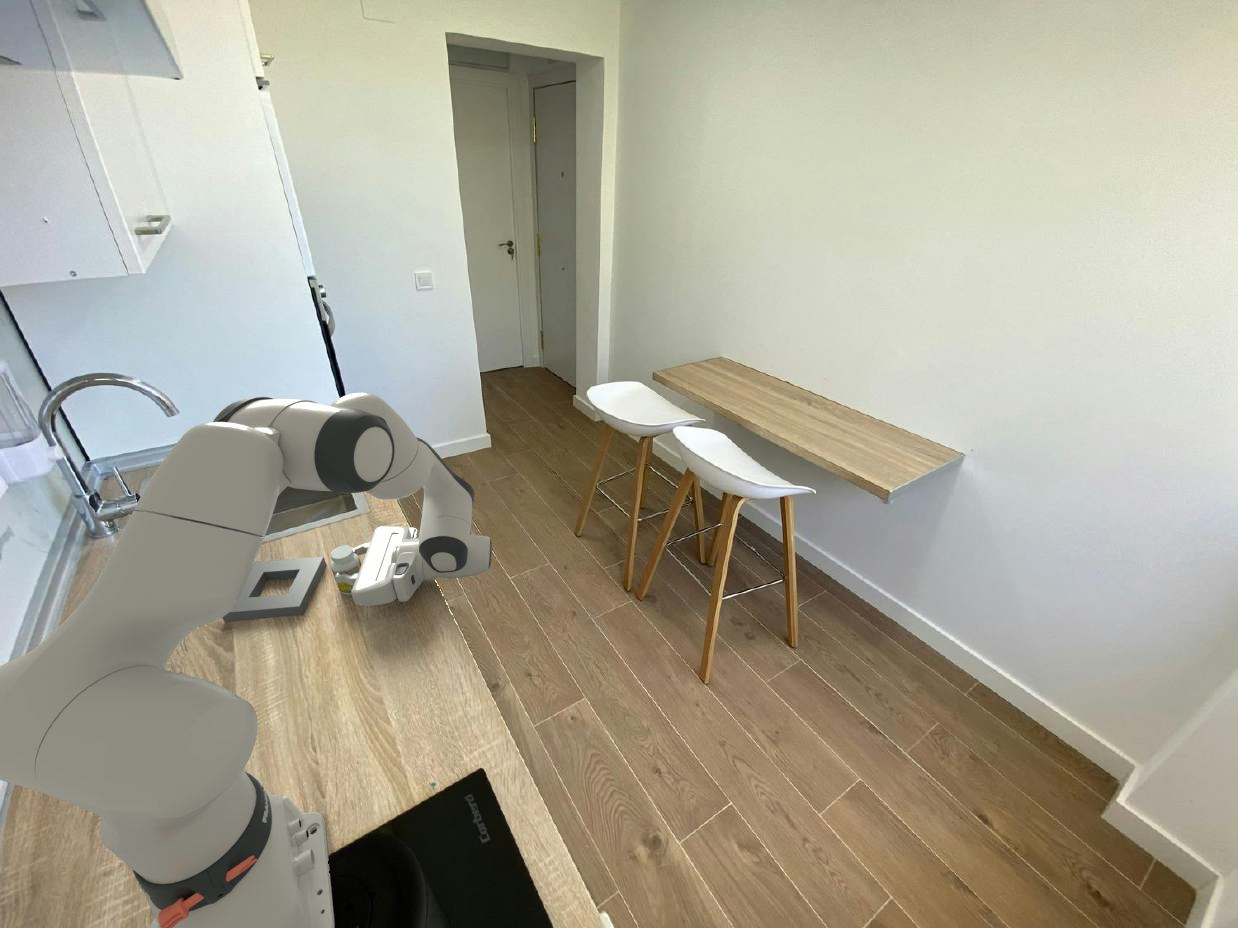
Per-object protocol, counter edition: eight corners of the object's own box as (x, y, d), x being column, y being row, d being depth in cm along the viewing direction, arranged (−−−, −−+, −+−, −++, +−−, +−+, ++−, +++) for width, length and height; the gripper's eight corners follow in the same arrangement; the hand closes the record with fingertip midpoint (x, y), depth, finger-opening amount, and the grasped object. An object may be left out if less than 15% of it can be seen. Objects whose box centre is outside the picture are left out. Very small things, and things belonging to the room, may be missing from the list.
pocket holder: (326, 564, 111) (323, 556, 109) (303, 614, 99) (299, 606, 98) (256, 570, 109) (252, 561, 107) (224, 621, 97) (219, 613, 96)
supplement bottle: (359, 596, 104) (347, 562, 98) (334, 594, 104) (320, 560, 98) (371, 577, 108) (361, 543, 103) (347, 575, 108) (335, 542, 103)
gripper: (418, 516, 111) (352, 520, 109) (399, 584, 94) (320, 591, 92) (423, 538, 115) (359, 542, 113) (405, 607, 98) (329, 614, 96)
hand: (341, 565), depth 102 cm, fingers closed on supplement bottle, 5 cm apart
